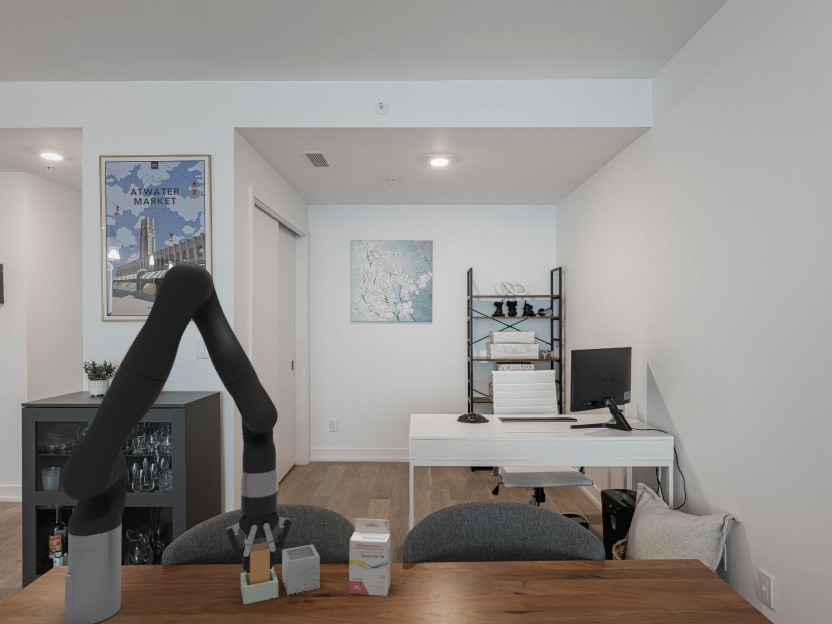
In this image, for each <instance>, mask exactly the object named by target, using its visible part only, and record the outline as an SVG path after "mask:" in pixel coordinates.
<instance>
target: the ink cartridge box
mask: <svg viewBox="0 0 832 624" xmlns="http://www.w3.org/2000/svg"><path fill="white" fill-rule="evenodd" d="M390 523H391V522H390V520H389V519H377V518H375V519H374V518H357V517H356V518H354V532H353V533H352V536H351V537H350V539H349V553H348V554H349V558H348V559H349V562H348V563H349V565H348V567H349V569H348V585H349V586H348V594H350V595H351V594H352V595H366V596H367V595H368V596H381V597H382V596H383V597H384V596H385V597H386V596H388V594H389V590H390V586H391V533H390ZM370 524H373V525H377V526H367V525H370Z"/></svg>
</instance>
